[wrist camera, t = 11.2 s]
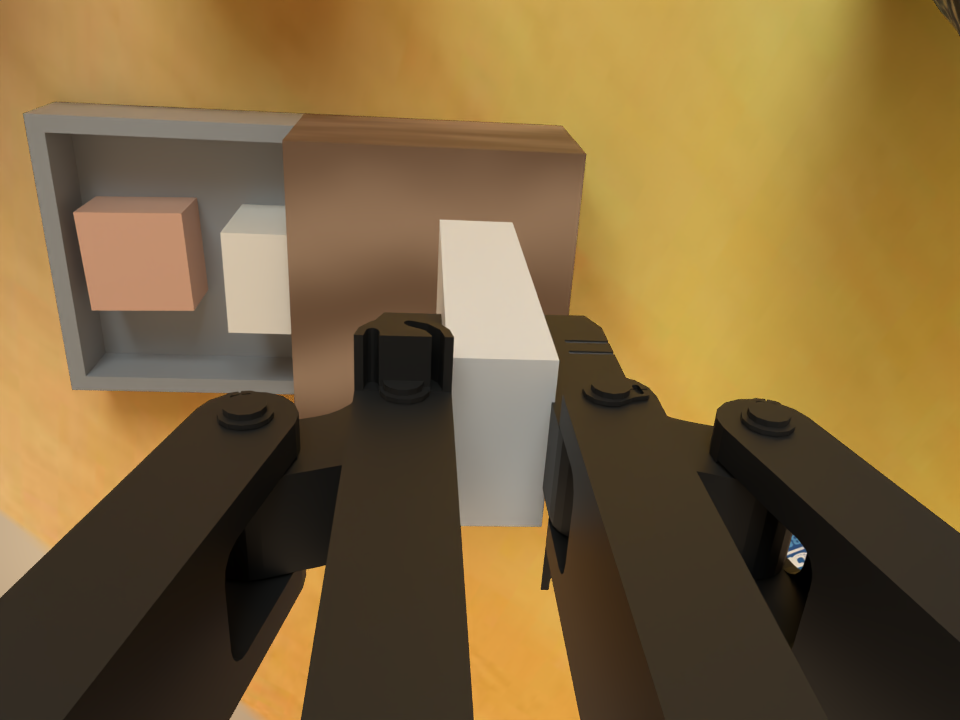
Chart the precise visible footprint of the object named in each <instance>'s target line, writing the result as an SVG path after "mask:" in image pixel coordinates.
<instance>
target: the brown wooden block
mask: <svg viewBox="0 0 960 720" xmlns="http://www.w3.org/2000/svg"><path fill="white" fill-rule="evenodd" d="M282 148H283V169H284V191H285V212H286V233H287V254H288V275H289V296H290V317H291V338H292V359H293V380H294V401H295V406H296V408H297V410H298V412H299V419H304V418H310V417H316V416H321V415H325V414H330V413H332V412H335V411H338V410H340V409H342V408H344V407H346V406H348V405H349V404H351V403H352V401H353V395H354V333H355V332H356V331H357V329H358V328H359V327H360V326H362V325H364V324H366V323H368V322H370V321H374V320H376V319H377V318H378V317H379V316H380V315H382V314H383V313H384V312H391V313H426V314H436V309H437V281H438V252H439V224H440V220H464V221H490V222H513V225H514V228H515V231H516V234H517V237H518V240H519V243H520V246H521V249H522V252H523V255H524V258H525V261H526V264H527V267H528V270H529V273H530V275H531V278H532V281H533V284H534V287H535V290H536V293H537V296H538V299H539V302H540V305H541V308H542V311H543V314H544V315H569V306H570V297H571V288H572V279H573V270H574V261H575V251H576V242H577V233H578V224H579V215H580V206H581V197H582V188H583V179H584V170H585V161H586V153H585V152H584V151H583V150H582V148H581V147H580V146H579V145H578V144H577V143H576V141H575V140H574V139H573V138H572V137H571V136H570V134H569V133H568V132H567V131H566V130H565V129H564V127H563V126H557V125H535V124H514V123H493V122H472V121H450V120H429V119H408V118H387V117H366V116H344V115H323V114H304V115H303V116H302V117H301V118H300V119H299V121H298V122H297V123H296V124H295V125H294V127H293V128H292V129H291V130H290V131H289V133H288V134H287V135H286V136H285V138H284V139H283V140H282Z"/></svg>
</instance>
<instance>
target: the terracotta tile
mask: <svg viewBox="0 0 960 720" xmlns="http://www.w3.org/2000/svg"><path fill="white" fill-rule="evenodd" d="M73 215H74V220H75V225H76V230H77V236H78V241H79V246H80V251H81V257H82V262H83V267H84V272H85V278H86V283H87V288H88V293H89V298H90V304H91V309H92V310H98V311H194V310H195V309H196V307H197V306H198V304H199V303H200V301H201V300H202V298H203V297H204V295H205V294H206V292H207V291H208V283H207V274H206V266H205V258H204V250H203V242H202V234H201V226H200V218H199V210H198V201H197V197H117V196H96V197H94V198H93V199H91V200H90V201H89V202H87V203H86V204H84V205H83V206H81V207H80V208H78V209H77V210H76V211H74V212H73Z"/></svg>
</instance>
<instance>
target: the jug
mask: <svg viewBox="0 0 960 720" xmlns="http://www.w3.org/2000/svg"><path fill="white" fill-rule="evenodd" d="M933 1H934V3H935V4H936V6H937V7H938V9H939V10H940V12H941V13H942V14H943V15H944V16H945V17H946V19H947V20H948V21H949V22H950V23H951V24H952V26H953V27H954V28H955V29H956V30H957V31H958V34H959V36H960V0H933Z"/></svg>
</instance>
